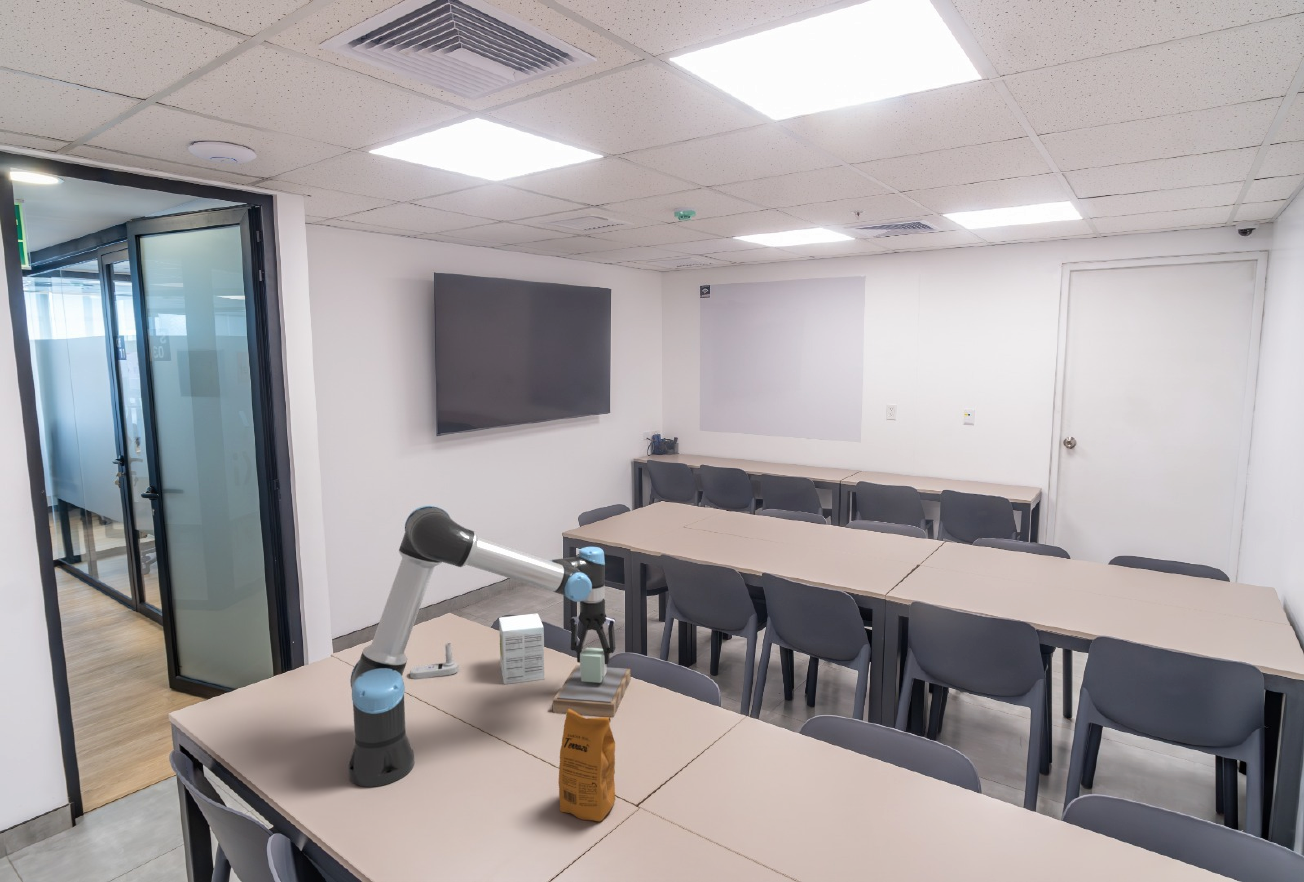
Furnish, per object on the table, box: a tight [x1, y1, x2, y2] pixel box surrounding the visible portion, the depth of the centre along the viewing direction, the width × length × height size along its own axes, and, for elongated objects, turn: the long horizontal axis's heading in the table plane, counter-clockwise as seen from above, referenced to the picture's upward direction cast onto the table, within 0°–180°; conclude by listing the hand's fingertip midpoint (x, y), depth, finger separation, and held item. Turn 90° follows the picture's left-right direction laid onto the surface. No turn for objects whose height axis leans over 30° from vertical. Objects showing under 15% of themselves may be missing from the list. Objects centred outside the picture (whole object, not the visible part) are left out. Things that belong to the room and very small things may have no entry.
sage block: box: [581, 647, 604, 683], centre depth 204 cm, size 6×6×8 cm
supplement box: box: [498, 613, 545, 685], centre depth 220 cm, size 13×13×18 cm
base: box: [552, 664, 632, 718], centre depth 205 cm, size 24×18×4 cm
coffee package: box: [558, 709, 616, 822], centre depth 151 cm, size 10×12×22 cm
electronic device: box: [409, 642, 459, 680], centre depth 220 cm, size 5×10×15 cm
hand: (593, 673), depth 205 cm, fingers closed on sage block, 6 cm apart
